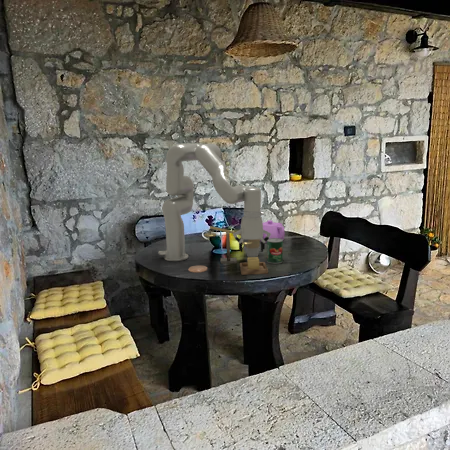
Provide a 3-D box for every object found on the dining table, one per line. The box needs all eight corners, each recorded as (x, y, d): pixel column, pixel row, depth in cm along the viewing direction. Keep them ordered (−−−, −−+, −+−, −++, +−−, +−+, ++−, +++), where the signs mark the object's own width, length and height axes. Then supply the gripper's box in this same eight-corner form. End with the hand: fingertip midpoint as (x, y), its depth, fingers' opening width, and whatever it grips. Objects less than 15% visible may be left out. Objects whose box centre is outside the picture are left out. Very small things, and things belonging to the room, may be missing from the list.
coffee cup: (260, 258, 208) (260, 229, 205) (242, 257, 209) (241, 229, 207) (262, 253, 217) (262, 225, 214) (245, 252, 219) (244, 225, 216)
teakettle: (285, 243, 236) (285, 222, 234) (256, 244, 237) (256, 223, 234) (282, 237, 253) (282, 217, 251) (255, 237, 253) (254, 218, 251)
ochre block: (247, 267, 191) (247, 257, 190) (258, 267, 191) (258, 257, 190) (248, 270, 186) (248, 260, 185) (259, 270, 186) (259, 260, 185)
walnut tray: (241, 274, 182) (241, 270, 182) (239, 266, 194) (239, 262, 194) (267, 273, 183) (267, 269, 182) (264, 265, 195) (264, 261, 194)
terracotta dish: (187, 272, 187) (187, 271, 187) (188, 267, 196) (188, 265, 196) (207, 272, 188) (207, 270, 187) (207, 266, 196) (207, 265, 196)
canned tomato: (274, 264, 196) (274, 242, 194) (263, 261, 202) (263, 239, 200) (286, 261, 201) (286, 240, 198) (275, 258, 207) (275, 237, 205)
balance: (205, 264, 200) (203, 227, 196) (205, 260, 206) (204, 225, 202) (252, 262, 200) (251, 226, 197) (251, 259, 206) (250, 223, 203)
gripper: (270, 213, 187) (269, 248, 191) (232, 213, 187) (232, 248, 191) (272, 216, 180) (271, 253, 184) (233, 216, 180) (233, 253, 183)
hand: (251, 250), depth 187 cm, fingers open, 9 cm apart
